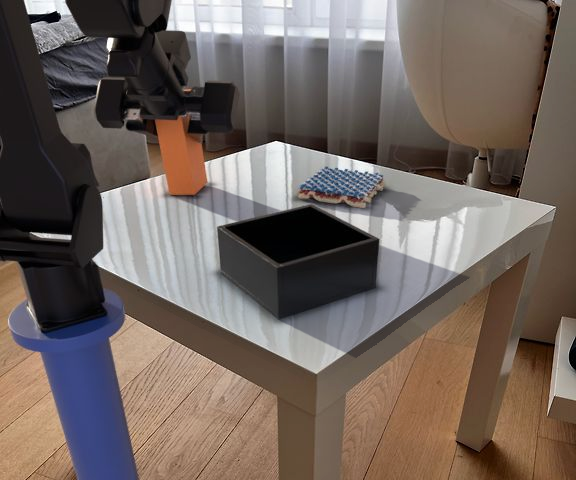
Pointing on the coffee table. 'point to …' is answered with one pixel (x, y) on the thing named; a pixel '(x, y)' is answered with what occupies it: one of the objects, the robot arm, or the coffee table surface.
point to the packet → (181, 157)
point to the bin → (297, 259)
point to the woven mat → (342, 187)
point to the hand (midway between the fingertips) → (185, 139)
